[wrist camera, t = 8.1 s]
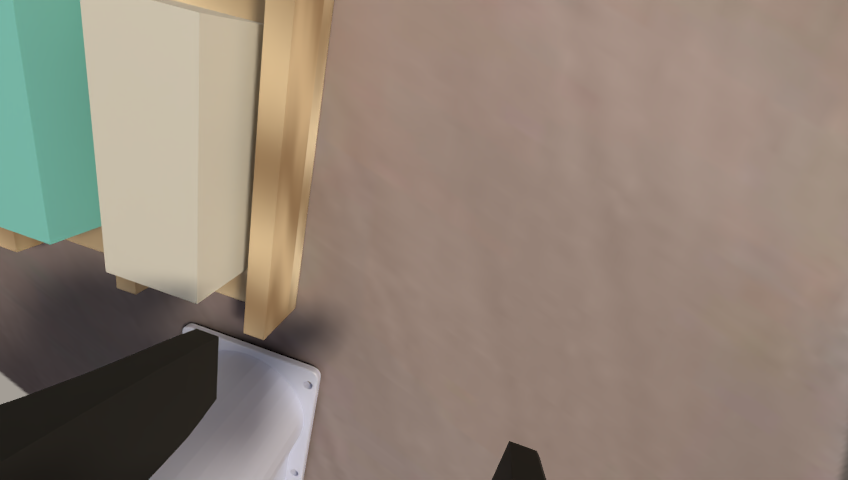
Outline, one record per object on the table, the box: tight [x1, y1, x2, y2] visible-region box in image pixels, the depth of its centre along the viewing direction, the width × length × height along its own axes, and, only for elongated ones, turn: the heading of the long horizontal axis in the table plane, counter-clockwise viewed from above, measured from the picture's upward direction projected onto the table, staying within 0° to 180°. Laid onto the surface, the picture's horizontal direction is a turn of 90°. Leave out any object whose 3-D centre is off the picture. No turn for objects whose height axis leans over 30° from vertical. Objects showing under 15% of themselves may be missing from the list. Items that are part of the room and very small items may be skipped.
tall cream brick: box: [80, 0, 264, 304], centre depth 16 cm, size 10×4×4 cm, turn 167°
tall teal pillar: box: [0, 0, 101, 245], centre depth 16 cm, size 10×4×4 cm, turn 167°
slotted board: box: [0, 0, 334, 340], centre depth 17 cm, size 15×14×3 cm
